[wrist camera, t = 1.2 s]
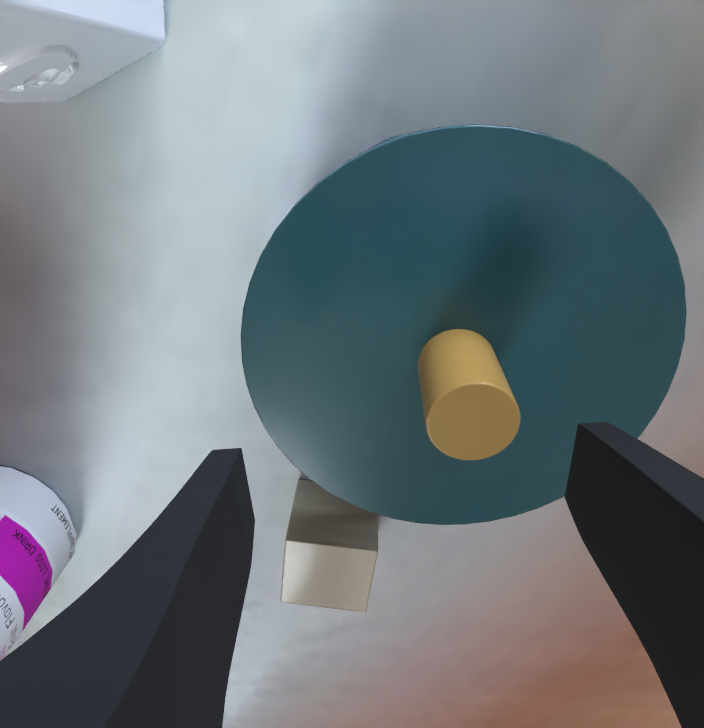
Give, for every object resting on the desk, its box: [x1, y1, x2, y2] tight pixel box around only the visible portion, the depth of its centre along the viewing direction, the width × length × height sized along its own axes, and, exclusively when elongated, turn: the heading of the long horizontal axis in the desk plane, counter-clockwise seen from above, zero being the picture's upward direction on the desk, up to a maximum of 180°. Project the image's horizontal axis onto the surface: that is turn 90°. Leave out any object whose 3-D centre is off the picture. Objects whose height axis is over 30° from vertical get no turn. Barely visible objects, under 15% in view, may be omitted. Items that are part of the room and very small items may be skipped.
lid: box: [241, 124, 686, 525], centre depth 15 cm, size 14×14×4 cm
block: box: [280, 479, 378, 612], centre depth 26 cm, size 4×4×4 cm
